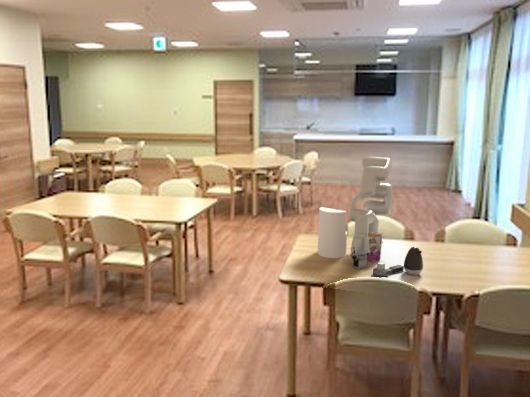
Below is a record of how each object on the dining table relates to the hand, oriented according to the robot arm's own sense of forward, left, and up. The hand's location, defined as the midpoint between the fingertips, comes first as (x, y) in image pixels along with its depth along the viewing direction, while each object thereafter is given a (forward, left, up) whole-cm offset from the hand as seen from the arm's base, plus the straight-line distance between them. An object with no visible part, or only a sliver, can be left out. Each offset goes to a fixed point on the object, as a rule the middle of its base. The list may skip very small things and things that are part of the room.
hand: (359, 265), depth 284 cm
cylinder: (-2, -26, -1) cm, 26 cm away
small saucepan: (-6, +16, -1) cm, 17 cm away
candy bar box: (-15, -6, -1) cm, 16 cm away
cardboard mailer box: (0, 0, -1) cm, 1 cm away
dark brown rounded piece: (-18, +23, -1) cm, 29 cm away
